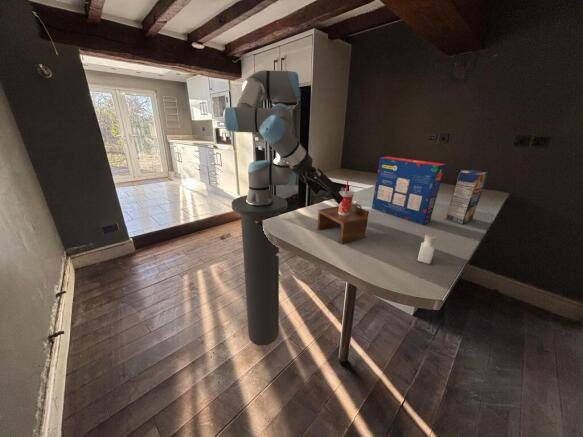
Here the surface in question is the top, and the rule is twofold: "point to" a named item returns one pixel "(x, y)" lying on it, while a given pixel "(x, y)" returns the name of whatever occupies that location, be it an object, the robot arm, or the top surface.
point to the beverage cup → (345, 202)
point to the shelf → (345, 222)
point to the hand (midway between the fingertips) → (328, 196)
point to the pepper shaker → (427, 249)
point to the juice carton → (466, 196)
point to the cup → (356, 204)
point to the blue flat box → (407, 188)
